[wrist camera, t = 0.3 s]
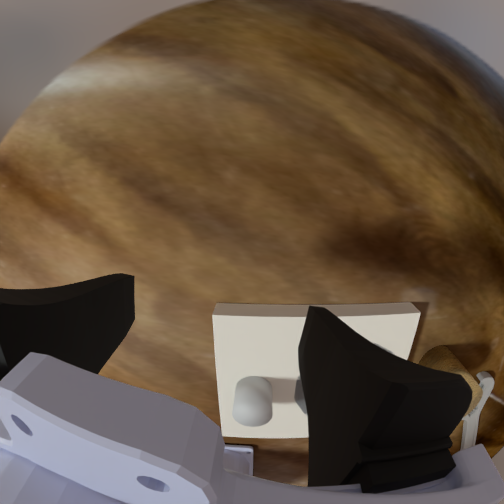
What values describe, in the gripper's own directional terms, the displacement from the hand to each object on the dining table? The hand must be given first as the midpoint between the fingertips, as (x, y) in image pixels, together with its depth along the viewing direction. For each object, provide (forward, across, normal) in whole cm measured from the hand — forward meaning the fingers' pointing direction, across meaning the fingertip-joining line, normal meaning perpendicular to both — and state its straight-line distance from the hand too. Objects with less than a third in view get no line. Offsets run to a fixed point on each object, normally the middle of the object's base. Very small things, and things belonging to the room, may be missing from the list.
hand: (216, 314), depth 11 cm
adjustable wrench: (+11, -36, +22) cm, 43 cm away
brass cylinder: (+10, -21, +8) cm, 24 cm away
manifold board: (+10, -8, +10) cm, 16 cm away
